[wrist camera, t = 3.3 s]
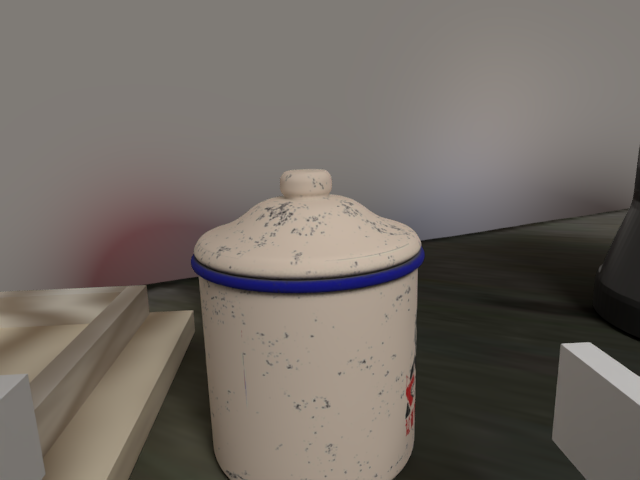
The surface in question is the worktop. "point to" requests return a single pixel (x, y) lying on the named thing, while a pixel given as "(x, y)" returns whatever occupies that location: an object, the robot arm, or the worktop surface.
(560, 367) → the robot arm
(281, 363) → the teacup with lid
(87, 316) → the cradle board
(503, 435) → the worktop surface
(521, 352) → the worktop surface
